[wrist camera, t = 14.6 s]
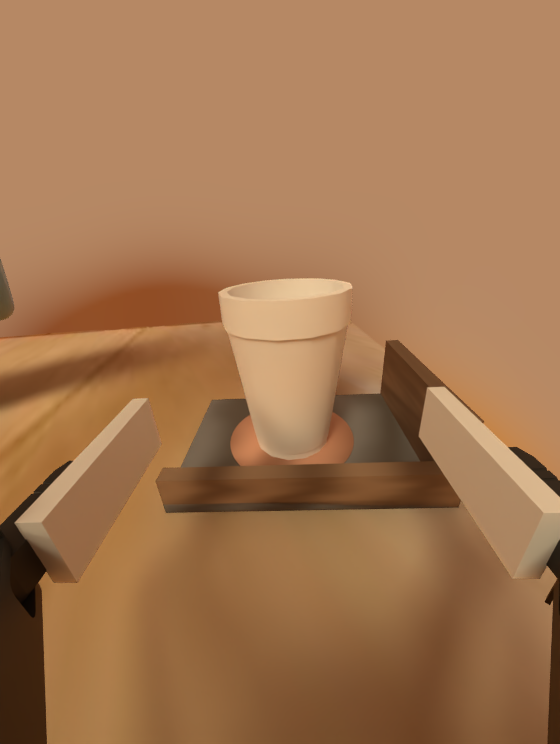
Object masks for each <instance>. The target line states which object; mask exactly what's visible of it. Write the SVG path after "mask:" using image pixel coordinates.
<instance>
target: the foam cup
mask: <svg viewBox="0 0 560 744" xmlns="http://www.w3.org/2000/svg"><path fill="white" fill-rule="evenodd" d="M352 292H353V287H352V285H351V283H348V282H343V281H340V280H332V279H317V278H308V279H307V278H306V279H280V280H266V281H259V282H253V283H245V284H240V285H236V286H232V287H227V288H226V289H224V290H222V291H220V292H218V294H219V302H220V308H221V316H222V323H223V326H224V328H225V330H226V332H227V333H228V336H229V339H230V343H231V346H232V350H233V354H234V357H235V361H236V365H237V368H238V372H239V376H240V379H241V383H242V386H243V390H244V394H245V397H246V401H247V405H248V408H249V412H250V416H251V419H252V423H253V427H254V430H255V434H256V436H257V440H258V443H259V445H260V448H261V449H262V450H264V451H265V452H266V453H268V454H269V455H270V456H272V457H277V458H281V459H286V460H293V459H303V458H307V457H309V456H311V455H313V454H315V453H318V452H319V451H320V450H321V449H322V448H323V446H324V445H325V444H326V442H327V437H328V433H329V428H330V422H331V416H332V411H333V405H334V400H335V394H336V388H337V383H338V377H339V371H340V366H341V360H342V355H343V349H344V343H345V338H346V332H347V327H348V325H349V324H350V323H351V314H352V294H353V293H352Z"/></svg>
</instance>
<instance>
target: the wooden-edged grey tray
mask: <svg viewBox="0 0 560 744" xmlns="http://www.w3.org/2000/svg"><path fill="white" fill-rule="evenodd" d="M427 387H445V388H446V389H447V390H448V391H449V392H450V393H451V394H453V395H454V396H455V397H456V398H457V399H458V400H459V401H460V402H461V403H462V404H463V405H464V406H465V407H466V408H467V409H468V410H469V411H470V412H471V413H472V414H473V415H474V416H476V417H477V418H478V419H479V420H480V421H481V422H482V423H483V422H484V421H483V420H482V419H481V418H480V417H479V416H478V415H477V414H476V413H475V412H474V411H473V410H471V409H470V408H469V407H468V406H467V405H466V404H465V403H464V402H463V401H462V400H461V399H460V398H459V397H458V396H457V395H455V394H454V393H453V392H452V391H451V390H450V389H449V388H448V387H447V386H446V385H445V384H444V383H443V382H442V381H441V380H440V379H439V378H437V377H436V376H435V375H434V374H433V373H432V372H431V371H430V370H429V369H428V368H427V367H426V366H425V365H424V364H423V363H421V362H420V361H419V360H418V359H417V358H416V357H415V356H414V355H413V354H412V353H411V352H410V351H409V350H408V349H407V348H406V347H405V346H404V345H402V343H400V342H399V341H398V340H393V341H386V347H385V356H384V366H383V375H382V385H381V394H359V395H335V400H334V405H333V411H332V416H331V422H330V428H329V433H328V437H327V442H326V444H325V445H324V446H323V448H322V449H321V450H320V451H319V452H318V453H315V454H313V455H311V456H309V457H307V458H303V459H293V460H286V459H281V458H277V457H272V456H270V455H269V454H268V453H266V452H265V451H264V450H262V449H261V448H260V445H259V443H258V440H257V436H256V434H255V430H254V427H253V423H252V419H251V416H250V412H249V408H248V405H247V401H246V399H223V400H212V401H211V403H210V406H209V408H208V410H207V412H206V414H205V416H204V418H203V421H202V423H201V425H200V427H199V429H198V431H197V433H196V436H195V438H194V440H193V442H192V444H191V446H190V448H189V451H188V453H187V455H186V457H185V459H184V461H183V463H182V466H181V468H163V469H162V471H161V472H160V474H159V476H158V478H157V480H156V484H157V487H158V490H159V493H160V496H161V499H162V502H163V505H164V508H165V511H166V513H170V512H226V511H281V510H337V509H393V508H448V507H459V504H460V501H461V500H460V498H459V497H458V495H457V494H456V492H455V491H454V489H453V488H452V486H451V485H450V483H449V482H448V480H447V479H446V477H445V475H444V474H443V472H442V471H441V469H440V468H439V466H438V465H437V463H436V462H435V460H434V459H433V457H432V456H431V454H430V453H429V451H428V450H427V448H426V447H425V445H424V444H423V442H422V440H421V439H420V437H419V431H420V425H421V420H422V414H423V409H424V403H425V398H426V392H427Z"/></svg>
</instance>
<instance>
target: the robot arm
mask: <svg viewBox="0 0 560 744" xmlns="http://www.w3.org/2000/svg"><path fill="white" fill-rule="evenodd" d="M13 311H14V302H13V298H12V295H11V291H10V288H9V285H8V282H7V278H6V275H5V272H4V269H3V265H2V262H1V259H0V321H1V320H4V319H7V318H8V317H9V316H11V315H12V313H13ZM419 437H420V439H421V440H422V442H423V444H424V445H425V447H426V448H427V450H428V451H429V453H430V454H431V456H432V457H433V459H434V460H435V462H436V463H437V465H438V466H439V468H440V469H441V471H442V472H443V474H444V475H445V477H446V479H447V480H448V482H449V483H450V485H451V486H452V488H453V489H454V491H455V492H456V494H457V495H458V497H459V498H460V500H461V501H462V503H463V504H464V506H465V507H466V509H467V510H468V512H469V514H470V515H471V517H472V518H473V520H474V521H475V523H476V524H477V526H478V527H479V529H480V530H481V532H482V533H483V535H484V536H485V538H486V539H487V541H488V542H489V544H490V545H491V547H492V549H493V550H494V552H495V553H496V555H497V556H498V558H499V559H500V561H501V562H502V564H503V565H504V567H505V568H506V570H507V571H508V573H509V574H510V576H511V577H512V579H540V578H541V576H542V574H543V572H544V570H545V568H546V566H548V567H549V568H550V570H551V571H552V572H553V573H554V575H555V576H556V577H557V578H558V579H557V580H556V582H555V584H554V586H553V587H552V589H551V591H550V592H549V594H548V596H547V598H546V600H545V603H547V604H549V605H550V604H551V602H552V601H553V619H552V644H551V669H550V693H549V718H548V743H547V744H560V481H558V479H557V477H556V476H555V475H553V474H552V473H551V472H550V471H547V469H546V467H545V466H543V465H542V464H541V463H540V462H539V461H538V460H536V458H534V457H533V456H531V455H530V454H528V453H526V452H524V451H523V450H521V449H519V448H517V447H507V446H506V445H505V444H504V443H503V442H502V441H501V440H499V439H498V438H497V437H496V436H495V435H494V434H493V433H492V432H491V431H490V430H489V429H488V428H487V427H486V426H485V425H484V424H483V423H482V422H481V421H480V420H479V419H478V418H477V417H476V416H474V415H473V414H472V413H471V412H470V411H469V410H468V409H467V408H466V407H465V406H464V405H463V404H462V403H461V402H460V401H459V400H458V399H457V398H456V397H455V396H454V395H453V394H451V393H450V392H449V391H448V390H447V389H446V388H445V387H427V392H426V398H425V403H424V409H423V414H422V420H421V425H420V431H419ZM161 444H162V443H161V440H160V436H159V433H158V430H157V426H156V423H155V419H154V416H153V412H152V409H151V406H150V402H149V399H148V398H142V399H132V400H131V401H130V402H129V403H128V404H127V405H126V407H125V408H124V409H123V410H122V411H121V412H120V413H119V414H118V415H117V416H116V417H115V418H114V419H113V420H112V421H111V422H110V423H109V424H108V425H107V426H106V427H105V429H104V430H103V431H102V432H101V433H100V434H99V435H98V436H97V437H96V438H95V439H94V440H93V441H92V442H91V443H90V444H89V445H88V446H87V447H86V448H85V449H84V450H83V452H82V453H81V454H80V455H79V456H78V457H77V458H76V459H75V460H74V461H68V462H67V463H65V464H64V465H62V466H61V467H59V468H58V469H56V470H55V471H54V472H53V473H52V474H51V475H50V476H49V477H48V478H47V479H46V480H45V481H44V482H43V484H41V485H40V486H39V487H38V488H37V489H36V490H35V491H34V493H33V494H31V495H30V496H29V497H28V498H27V499H26V500H25V501H24V502H23V503H22V504H21V505H20V506H19V507H18V508H17V509H16V510H15V511H14V512H13V513H12V514H11V515H10V516H9V517H8V518H7V519H6V520H5V521H4V522H3V523H2V524H1V525H0V744H47V734H46V705H45V675H44V646H43V617H42V590H41V588H40V585H39V584H38V582H39V581H40V579H41V578H42V576H43V575H44V574H45V572H47V573H48V575H49V576H50V578H51V579H52V581H53V582H54V583H77V582H78V581H79V579H80V578H81V576H82V574H83V573H84V571H85V569H86V568H87V566H88V564H89V563H90V561H91V559H92V558H93V556H94V555H95V553H96V551H97V550H98V548H99V546H100V545H101V543H102V541H103V540H104V538H105V536H106V535H107V533H108V531H109V530H110V528H111V527H112V525H113V523H114V522H115V520H116V518H117V517H118V515H119V513H120V512H121V510H122V508H123V507H124V505H125V504H126V502H127V500H128V499H129V497H130V495H131V494H132V492H133V490H134V489H135V487H136V485H137V484H138V482H139V480H140V479H141V477H142V476H143V474H144V472H145V471H146V469H147V467H148V466H149V464H150V462H151V461H152V459H153V457H154V456H155V454H156V453H157V451H158V449H159V448H160V446H161Z"/></svg>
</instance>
